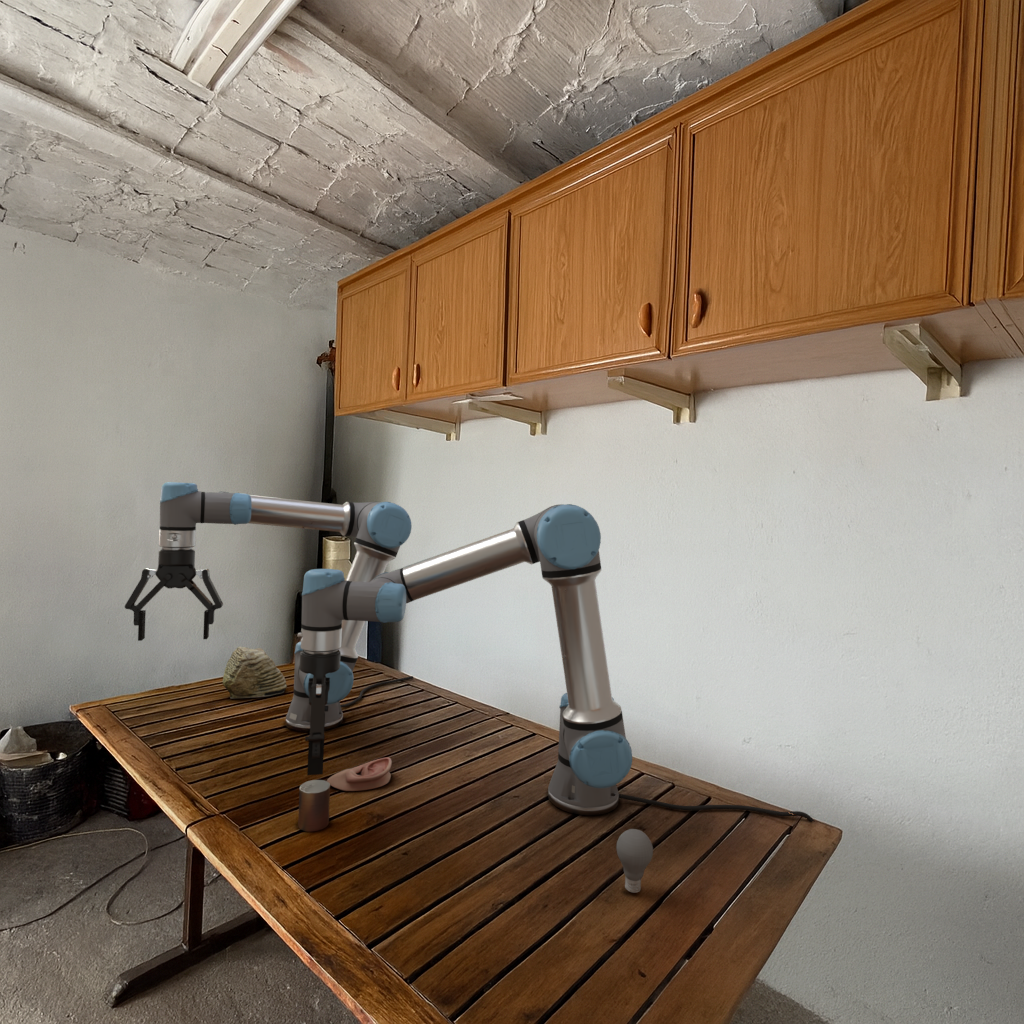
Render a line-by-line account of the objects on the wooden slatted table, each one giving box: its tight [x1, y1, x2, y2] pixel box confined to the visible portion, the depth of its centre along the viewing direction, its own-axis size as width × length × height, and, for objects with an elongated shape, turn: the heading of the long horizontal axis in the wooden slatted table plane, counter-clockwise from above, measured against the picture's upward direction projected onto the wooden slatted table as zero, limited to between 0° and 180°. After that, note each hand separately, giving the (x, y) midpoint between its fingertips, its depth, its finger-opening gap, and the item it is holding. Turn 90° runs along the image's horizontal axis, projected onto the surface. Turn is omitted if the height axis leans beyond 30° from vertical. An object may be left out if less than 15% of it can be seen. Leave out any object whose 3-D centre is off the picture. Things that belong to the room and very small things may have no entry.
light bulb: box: [615, 828, 654, 894], centre depth 106 cm, size 6×6×10 cm
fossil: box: [222, 646, 288, 699], centre depth 198 cm, size 9×18×15 cm, turn 132°
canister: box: [297, 779, 331, 833], centre depth 123 cm, size 6×6×7 cm
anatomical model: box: [326, 756, 393, 792], centre depth 142 cm, size 13×4×12 cm
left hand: (174, 638), depth 148 cm, fingers open, 13 cm apart
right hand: (316, 759), depth 122 cm, fingers open, 13 cm apart
